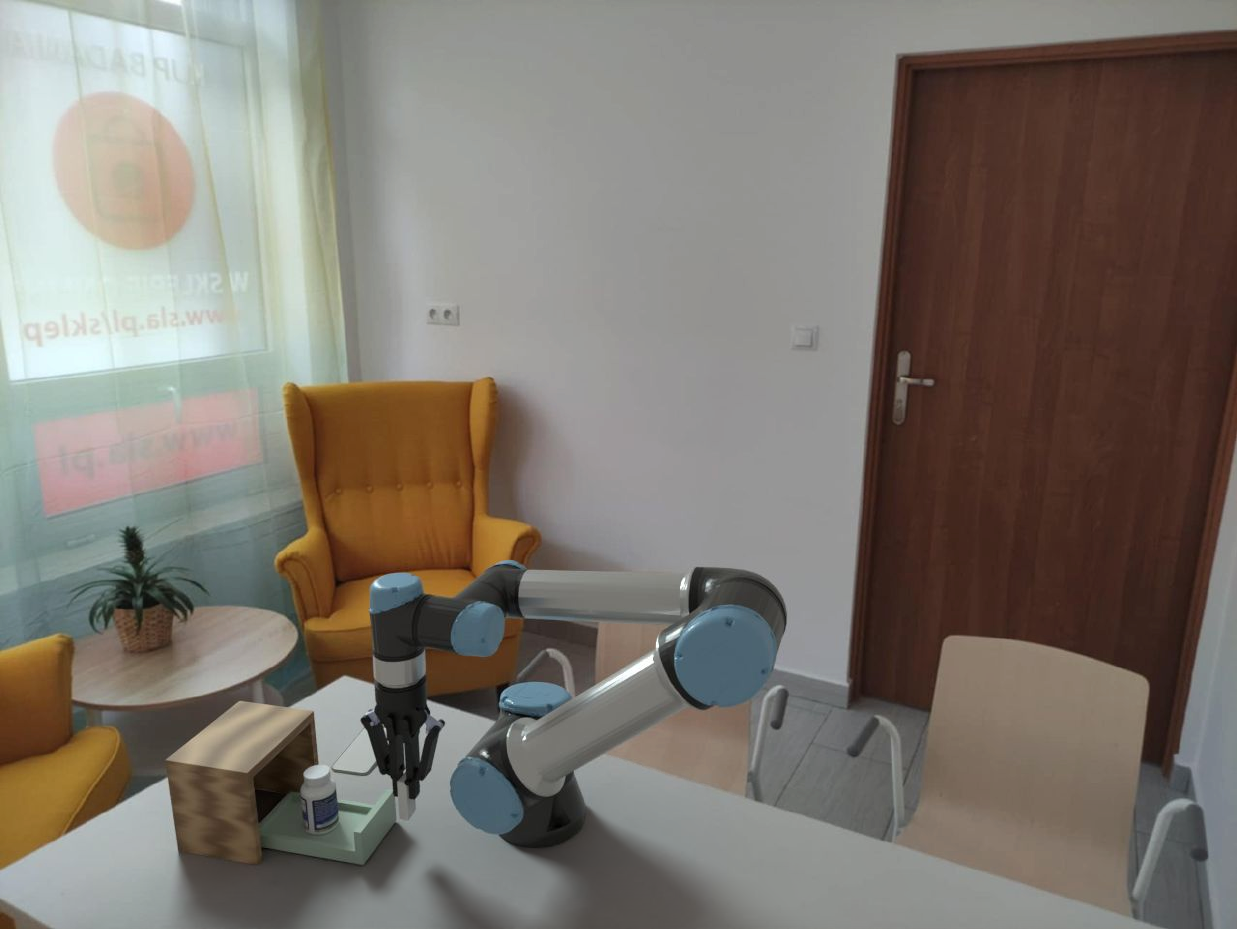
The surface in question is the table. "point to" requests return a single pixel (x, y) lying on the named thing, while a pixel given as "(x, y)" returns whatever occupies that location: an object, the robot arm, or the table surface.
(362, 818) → the tray
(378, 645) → the robot arm
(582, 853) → the table surface
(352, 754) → the smartphone
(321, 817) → the pill bottle
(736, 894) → the table surface
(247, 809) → the wooden drawer cabinet
